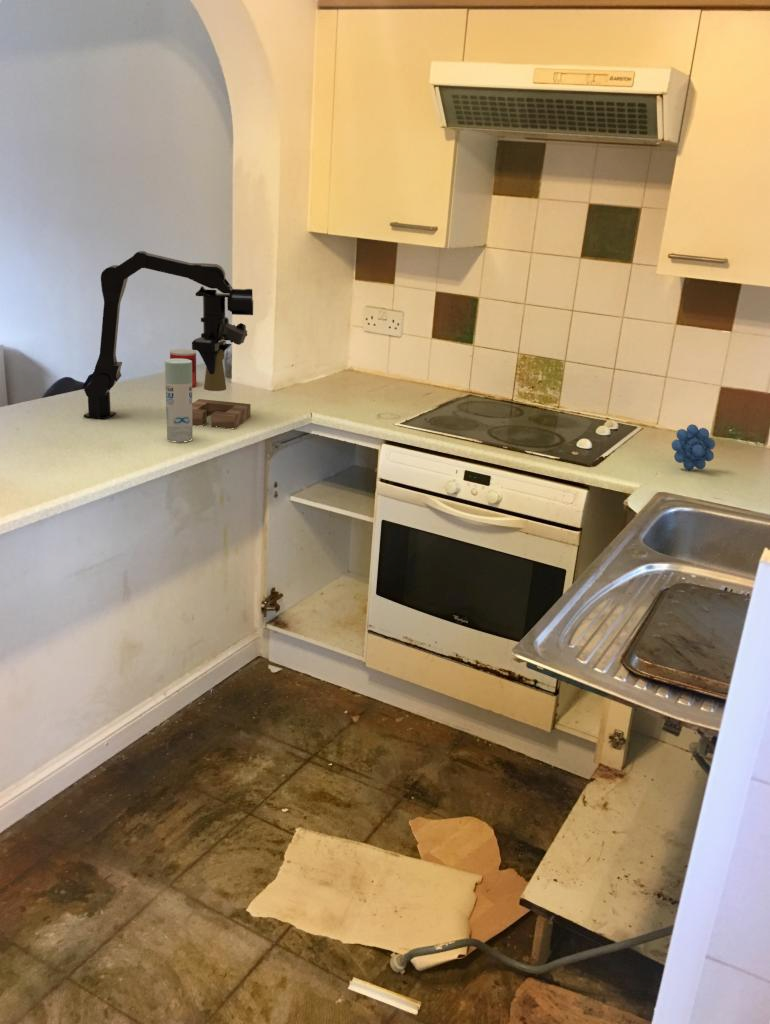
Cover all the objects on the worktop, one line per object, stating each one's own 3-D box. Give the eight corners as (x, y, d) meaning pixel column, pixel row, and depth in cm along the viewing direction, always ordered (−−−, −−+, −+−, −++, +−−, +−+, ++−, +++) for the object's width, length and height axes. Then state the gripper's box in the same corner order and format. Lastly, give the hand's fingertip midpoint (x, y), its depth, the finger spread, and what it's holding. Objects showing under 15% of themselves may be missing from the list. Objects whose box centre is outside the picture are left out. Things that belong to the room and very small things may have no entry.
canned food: (201, 386, 276) (200, 352, 273) (179, 389, 271) (179, 354, 267) (187, 382, 281) (186, 348, 277) (165, 384, 276) (165, 350, 272)
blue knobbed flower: (673, 474, 219) (682, 428, 215) (663, 466, 226) (671, 421, 222) (717, 475, 221) (727, 430, 216) (706, 467, 227) (715, 423, 223)
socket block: (234, 429, 232) (234, 416, 231) (180, 423, 234) (179, 410, 233) (250, 416, 246) (250, 404, 245) (199, 410, 248) (199, 398, 247)
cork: (203, 390, 234) (202, 349, 230) (204, 385, 239) (203, 345, 235) (226, 391, 235) (225, 350, 231) (226, 386, 240) (226, 346, 236)
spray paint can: (195, 442, 218) (194, 363, 211) (169, 443, 216) (167, 363, 209) (189, 435, 224) (188, 358, 217) (164, 436, 221) (162, 358, 214)
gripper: (232, 320, 220) (233, 381, 226) (253, 311, 238) (253, 368, 243) (190, 317, 222) (191, 378, 227) (214, 308, 239) (215, 365, 244)
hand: (214, 372), depth 235 cm, fingers closed on cork, 4 cm apart
